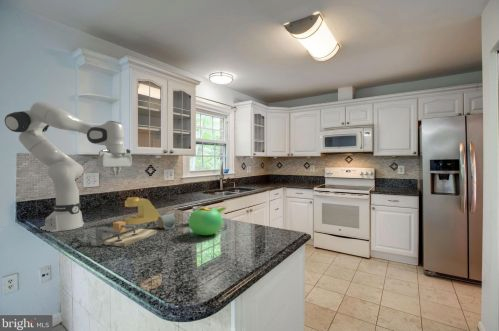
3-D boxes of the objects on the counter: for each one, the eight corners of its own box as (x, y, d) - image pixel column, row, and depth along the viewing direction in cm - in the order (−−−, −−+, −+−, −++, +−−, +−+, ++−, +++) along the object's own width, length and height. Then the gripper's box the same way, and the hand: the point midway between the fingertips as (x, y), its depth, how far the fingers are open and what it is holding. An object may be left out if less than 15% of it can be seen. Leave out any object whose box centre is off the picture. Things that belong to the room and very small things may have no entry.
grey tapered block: (90, 245, 112) (89, 230, 112) (132, 230, 137) (132, 217, 137) (110, 247, 108) (110, 232, 108) (150, 231, 133) (150, 219, 133)
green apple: (182, 235, 125) (181, 207, 125) (204, 228, 140) (204, 202, 139) (209, 241, 116) (208, 210, 116) (230, 232, 130) (229, 205, 130)
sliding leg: (113, 232, 124) (112, 222, 124) (119, 230, 128) (119, 221, 128) (132, 234, 121) (131, 224, 120) (138, 232, 124) (137, 222, 124)
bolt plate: (104, 244, 113) (104, 240, 113) (138, 231, 134) (138, 228, 134) (124, 246, 110) (124, 243, 110) (157, 232, 131) (156, 229, 131)
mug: (196, 226, 142) (196, 209, 142) (186, 225, 147) (186, 208, 147) (209, 222, 152) (209, 206, 152) (199, 221, 156) (199, 205, 156)
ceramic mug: (156, 227, 142) (156, 214, 142) (170, 224, 147) (170, 212, 147) (164, 231, 134) (164, 217, 134) (178, 228, 140) (178, 215, 139)
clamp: (128, 225, 147) (127, 199, 146) (123, 223, 153) (122, 197, 153) (160, 219, 161) (159, 195, 160) (154, 217, 167) (153, 194, 167)
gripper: (103, 149, 125) (104, 176, 125) (133, 150, 144) (134, 174, 145) (94, 149, 127) (94, 176, 127) (125, 151, 146) (125, 174, 146)
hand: (116, 175), depth 136 cm, fingers closed
